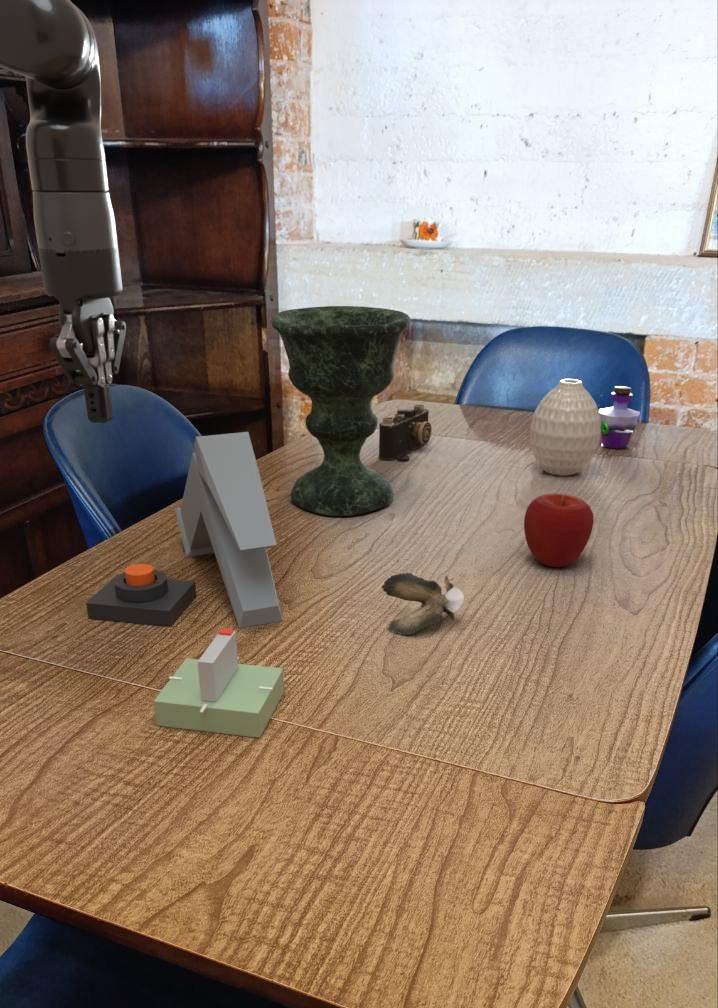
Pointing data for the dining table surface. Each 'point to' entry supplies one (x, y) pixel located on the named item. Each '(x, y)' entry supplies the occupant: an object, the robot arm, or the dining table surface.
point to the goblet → (341, 398)
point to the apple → (557, 528)
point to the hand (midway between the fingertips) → (101, 420)
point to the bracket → (231, 523)
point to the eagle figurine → (422, 601)
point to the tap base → (221, 701)
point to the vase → (565, 429)
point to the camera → (404, 433)
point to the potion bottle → (618, 420)
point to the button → (139, 575)
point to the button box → (142, 601)
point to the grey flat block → (218, 665)
